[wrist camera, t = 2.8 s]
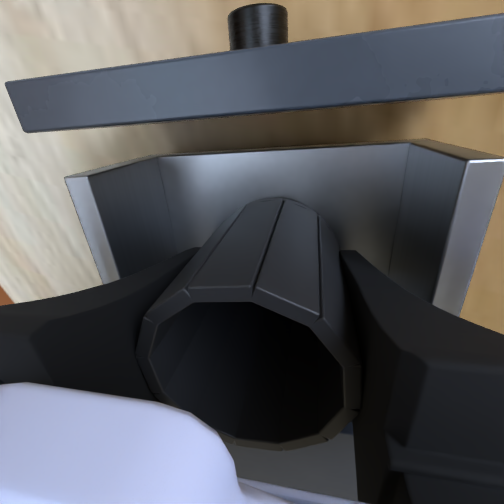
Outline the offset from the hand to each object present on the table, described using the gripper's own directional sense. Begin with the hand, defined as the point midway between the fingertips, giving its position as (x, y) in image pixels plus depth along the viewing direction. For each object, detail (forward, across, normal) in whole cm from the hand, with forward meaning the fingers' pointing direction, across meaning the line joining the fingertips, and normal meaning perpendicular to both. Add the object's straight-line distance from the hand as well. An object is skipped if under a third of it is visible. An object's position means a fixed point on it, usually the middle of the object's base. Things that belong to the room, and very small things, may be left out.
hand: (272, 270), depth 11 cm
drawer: (+2, 0, -1) cm, 2 cm away
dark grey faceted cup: (+1, 0, 0) cm, 1 cm away
